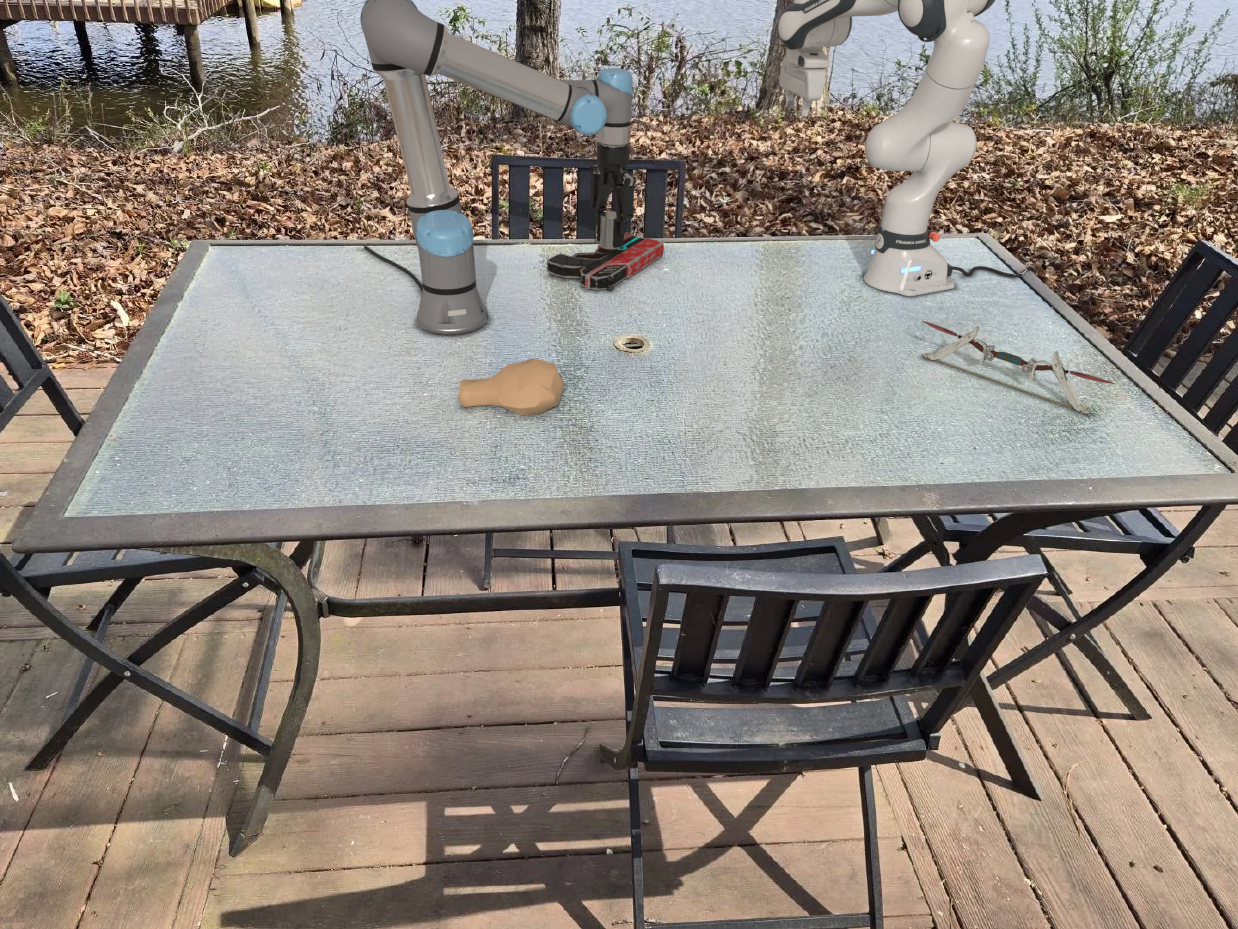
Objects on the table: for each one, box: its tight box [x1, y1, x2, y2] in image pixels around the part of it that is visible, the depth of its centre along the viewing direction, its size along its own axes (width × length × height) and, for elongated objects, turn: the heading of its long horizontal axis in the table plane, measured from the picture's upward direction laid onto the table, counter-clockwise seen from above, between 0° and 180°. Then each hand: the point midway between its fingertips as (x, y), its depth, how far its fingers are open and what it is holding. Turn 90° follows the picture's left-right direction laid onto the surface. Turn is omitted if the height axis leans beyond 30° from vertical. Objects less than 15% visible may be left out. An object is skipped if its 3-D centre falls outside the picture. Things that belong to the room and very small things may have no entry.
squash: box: [457, 358, 565, 416], centre depth 164 cm, size 11×20×9 cm, turn 90°
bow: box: [921, 320, 1114, 414], centre depth 176 cm, size 39×2×10 cm, turn 47°
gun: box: [546, 231, 665, 292], centre depth 225 cm, size 4×31×19 cm
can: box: [599, 210, 620, 249], centre depth 210 cm, size 5×5×8 cm
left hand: (610, 242), depth 211 cm, fingers closed on can, 5 cm apart
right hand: (796, 111), depth 233 cm, fingers open, 8 cm apart
